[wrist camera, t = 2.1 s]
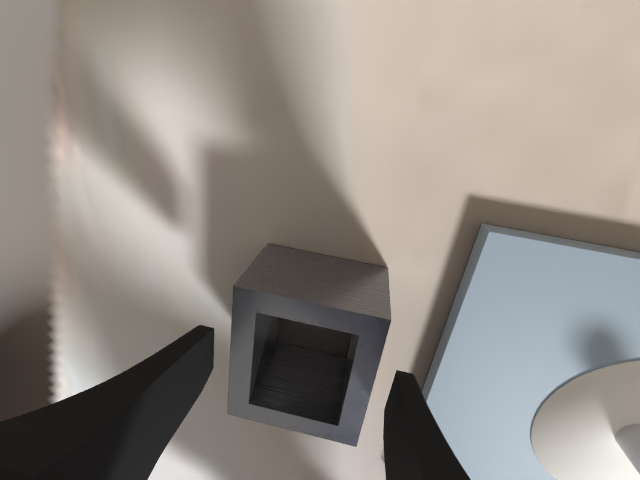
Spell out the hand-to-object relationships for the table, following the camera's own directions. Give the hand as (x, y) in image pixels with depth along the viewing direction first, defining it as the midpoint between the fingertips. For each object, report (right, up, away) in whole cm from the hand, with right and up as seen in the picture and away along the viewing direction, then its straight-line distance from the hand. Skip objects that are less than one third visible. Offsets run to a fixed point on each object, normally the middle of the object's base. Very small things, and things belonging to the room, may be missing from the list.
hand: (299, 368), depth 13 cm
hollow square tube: (+1, +1, +4) cm, 4 cm away
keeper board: (+15, -3, +3) cm, 16 cm away
